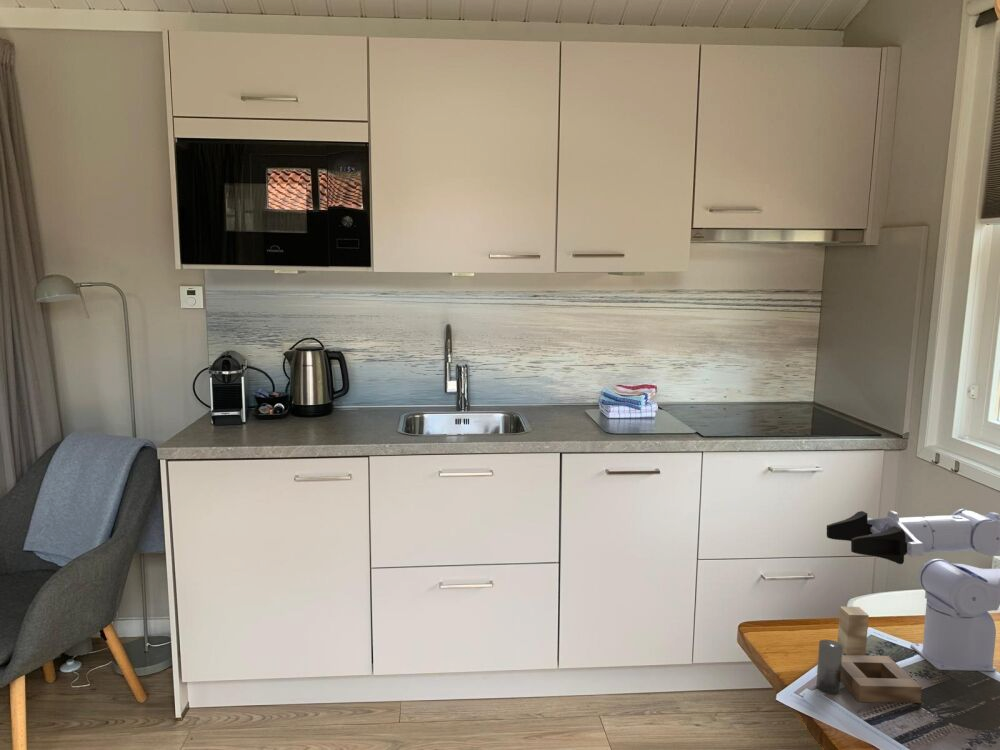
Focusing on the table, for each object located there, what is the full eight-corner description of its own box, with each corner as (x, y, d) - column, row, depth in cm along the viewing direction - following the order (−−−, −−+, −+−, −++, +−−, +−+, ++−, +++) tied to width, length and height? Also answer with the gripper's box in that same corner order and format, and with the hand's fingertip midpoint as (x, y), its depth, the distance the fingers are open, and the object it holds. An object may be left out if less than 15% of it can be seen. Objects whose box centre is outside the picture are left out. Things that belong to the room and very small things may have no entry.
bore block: (886, 670, 112) (888, 655, 111) (920, 703, 103) (921, 686, 102) (830, 669, 112) (831, 654, 111) (859, 701, 103) (860, 685, 102)
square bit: (855, 645, 120) (858, 606, 119) (865, 655, 116) (868, 615, 116) (837, 645, 120) (840, 606, 119) (846, 654, 116) (849, 614, 116)
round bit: (833, 682, 108) (836, 639, 107) (843, 694, 105) (846, 650, 104) (812, 682, 108) (815, 639, 107) (821, 694, 105) (825, 649, 104)
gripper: (894, 499, 120) (817, 503, 120) (952, 522, 106) (864, 526, 106) (895, 539, 121) (817, 543, 121) (951, 567, 106) (864, 572, 106)
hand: (839, 538), depth 113 cm, fingers open, 7 cm apart
